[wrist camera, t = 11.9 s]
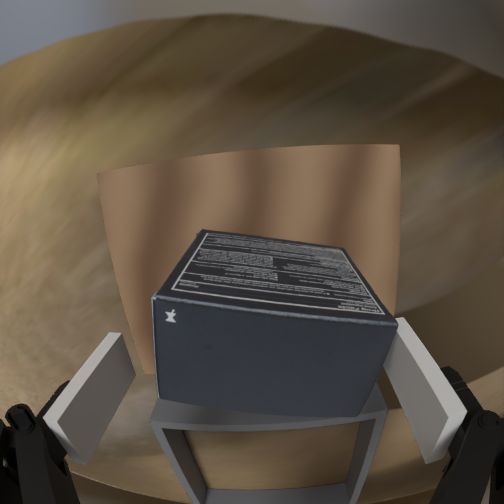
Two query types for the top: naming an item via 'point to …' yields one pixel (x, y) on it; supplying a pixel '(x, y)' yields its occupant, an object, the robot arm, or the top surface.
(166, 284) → the small box
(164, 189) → the walnut board
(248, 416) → the bin
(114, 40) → the top surface
